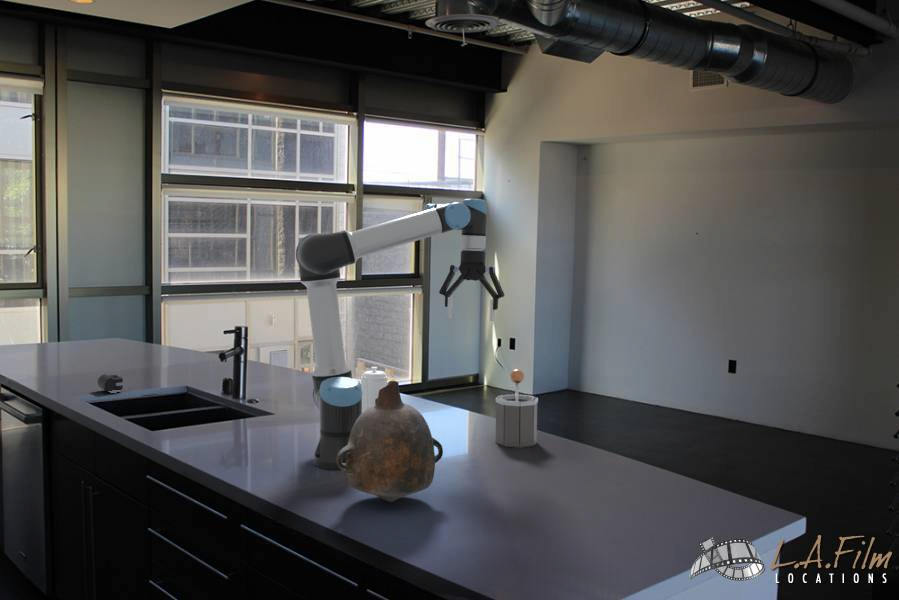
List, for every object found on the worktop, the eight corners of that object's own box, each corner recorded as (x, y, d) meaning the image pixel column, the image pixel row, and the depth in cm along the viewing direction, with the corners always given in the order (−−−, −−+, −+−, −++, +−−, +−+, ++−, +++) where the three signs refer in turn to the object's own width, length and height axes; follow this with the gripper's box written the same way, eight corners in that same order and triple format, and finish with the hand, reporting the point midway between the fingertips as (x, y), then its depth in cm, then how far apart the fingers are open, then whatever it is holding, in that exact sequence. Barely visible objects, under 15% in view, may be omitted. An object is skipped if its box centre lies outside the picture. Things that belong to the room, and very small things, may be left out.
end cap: (97, 391, 337) (97, 374, 336) (115, 389, 341) (115, 373, 341) (105, 395, 329) (104, 378, 328) (123, 393, 333) (122, 376, 333)
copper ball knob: (526, 440, 252) (527, 372, 251) (499, 438, 255) (500, 370, 253) (532, 434, 260) (533, 368, 259) (506, 432, 263) (507, 366, 261)
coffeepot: (347, 427, 276) (347, 372, 274) (369, 412, 300) (369, 361, 299) (378, 429, 274) (378, 373, 272) (398, 413, 298) (398, 362, 297)
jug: (392, 481, 215) (392, 367, 213) (456, 498, 202) (457, 377, 199) (321, 504, 196) (321, 379, 194) (387, 524, 183) (387, 391, 181)
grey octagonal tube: (531, 448, 250) (532, 403, 249) (491, 445, 254) (492, 400, 253) (542, 436, 265) (543, 393, 264) (504, 433, 269) (505, 391, 268)
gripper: (515, 251, 252) (513, 320, 253) (438, 248, 260) (436, 315, 261) (509, 251, 245) (506, 322, 246) (430, 248, 253) (428, 317, 254)
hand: (470, 319), depth 254 cm, fingers open, 13 cm apart
